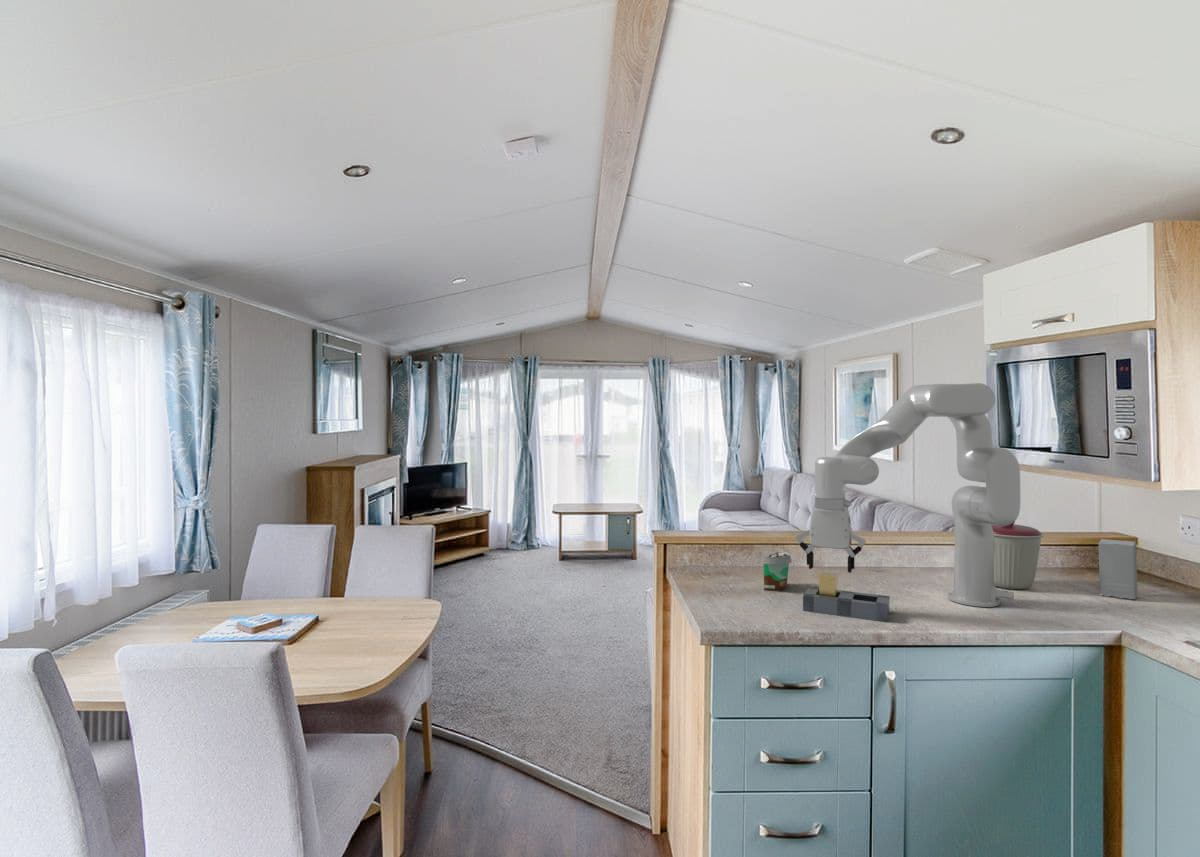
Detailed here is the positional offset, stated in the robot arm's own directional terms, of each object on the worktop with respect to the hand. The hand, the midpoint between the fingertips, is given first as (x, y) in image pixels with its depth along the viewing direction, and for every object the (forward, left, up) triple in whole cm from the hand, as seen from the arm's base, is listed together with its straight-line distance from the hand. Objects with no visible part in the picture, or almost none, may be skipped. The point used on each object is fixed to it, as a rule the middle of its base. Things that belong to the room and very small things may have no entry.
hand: (830, 569), depth 173 cm
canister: (-44, -52, -11) cm, 69 cm away
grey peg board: (-4, 0, -10) cm, 11 cm away
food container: (+16, -15, -11) cm, 24 cm away
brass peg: (0, 0, -10) cm, 10 cm away
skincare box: (-71, -53, -11) cm, 89 cm away
